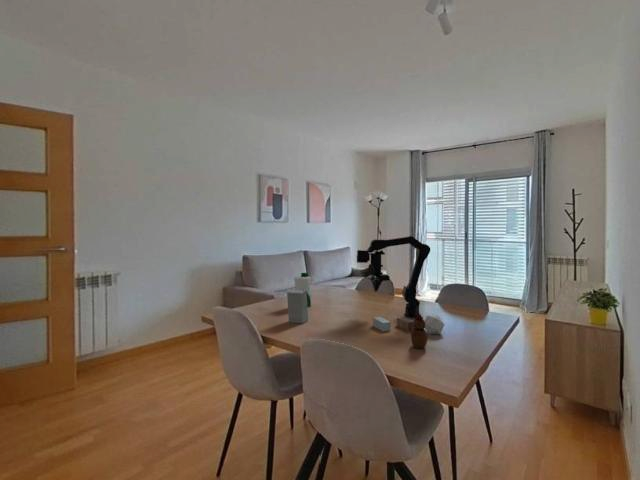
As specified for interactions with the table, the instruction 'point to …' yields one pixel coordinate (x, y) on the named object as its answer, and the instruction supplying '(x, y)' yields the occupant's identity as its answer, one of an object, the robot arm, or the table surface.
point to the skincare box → (297, 306)
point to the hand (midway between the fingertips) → (375, 291)
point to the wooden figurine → (419, 332)
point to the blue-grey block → (381, 324)
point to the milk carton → (303, 285)
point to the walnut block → (405, 323)
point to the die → (433, 324)
